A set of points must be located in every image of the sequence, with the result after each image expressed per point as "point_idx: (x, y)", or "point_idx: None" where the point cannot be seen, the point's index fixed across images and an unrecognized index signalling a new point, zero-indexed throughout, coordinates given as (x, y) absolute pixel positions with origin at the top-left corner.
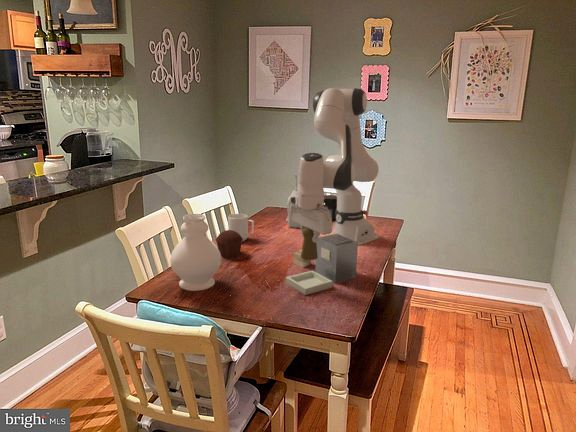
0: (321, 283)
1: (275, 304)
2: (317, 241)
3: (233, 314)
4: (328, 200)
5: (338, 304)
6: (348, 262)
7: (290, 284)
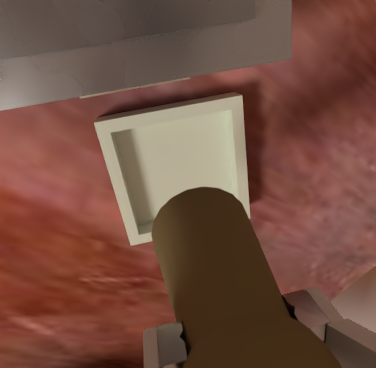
0: (238, 149)
1: None
2: (317, 290)
3: None
4: None
5: (347, 142)
6: None
7: None
